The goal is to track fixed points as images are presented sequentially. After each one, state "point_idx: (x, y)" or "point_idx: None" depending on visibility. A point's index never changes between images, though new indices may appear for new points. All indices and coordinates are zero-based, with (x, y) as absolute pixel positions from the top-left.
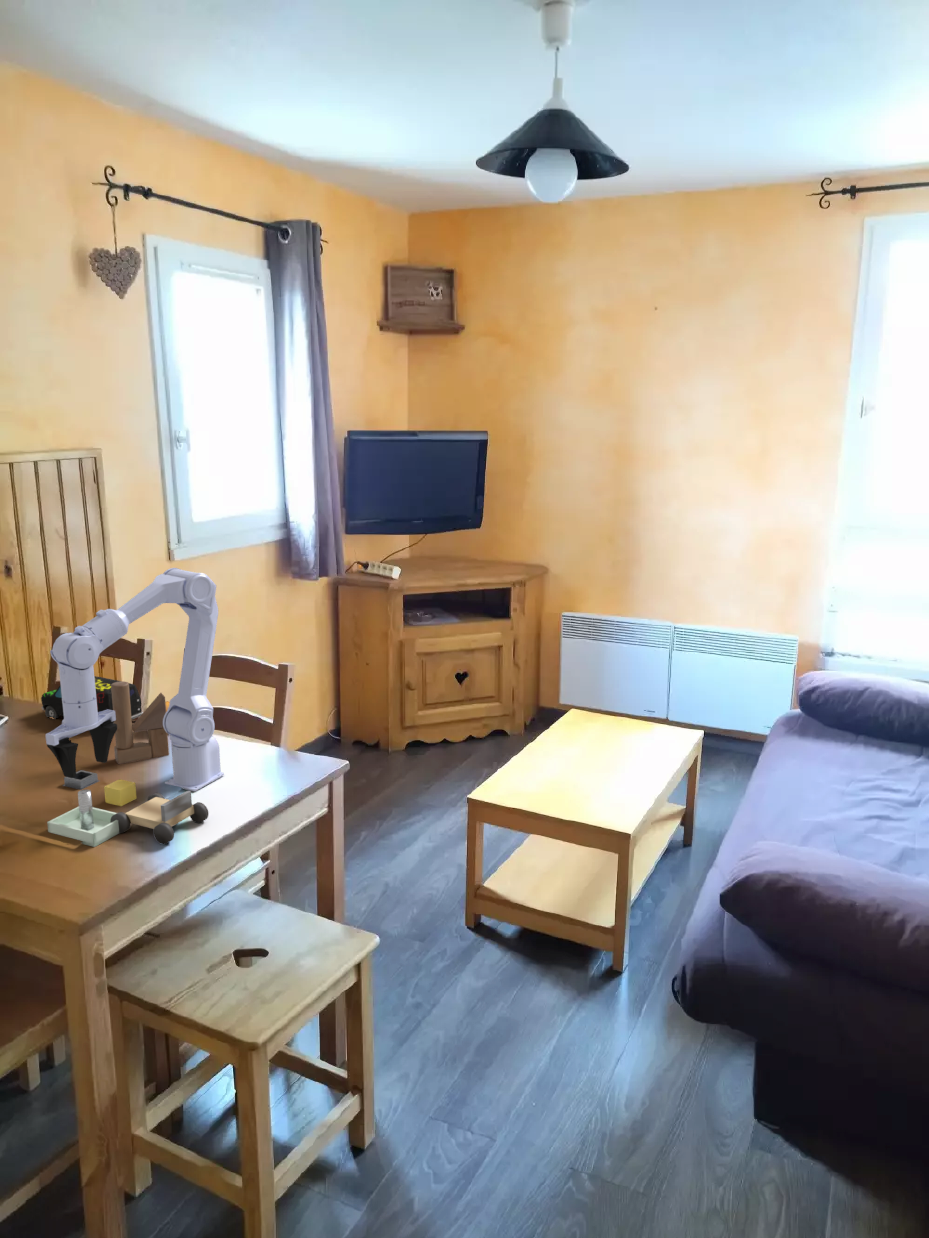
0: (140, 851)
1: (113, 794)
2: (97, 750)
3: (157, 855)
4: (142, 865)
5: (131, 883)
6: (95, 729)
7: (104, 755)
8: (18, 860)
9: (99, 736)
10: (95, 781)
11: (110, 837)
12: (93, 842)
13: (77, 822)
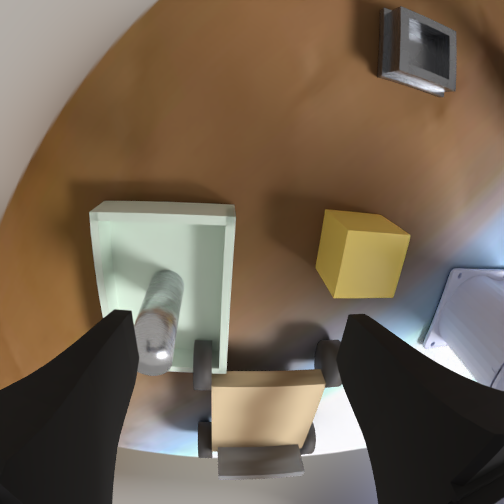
0: (159, 412)
1: (333, 260)
2: (373, 365)
3: (165, 433)
4: (130, 430)
5: None
6: (436, 482)
7: (348, 390)
8: (6, 241)
9: (403, 458)
10: (434, 88)
11: None
12: None
13: (181, 234)
